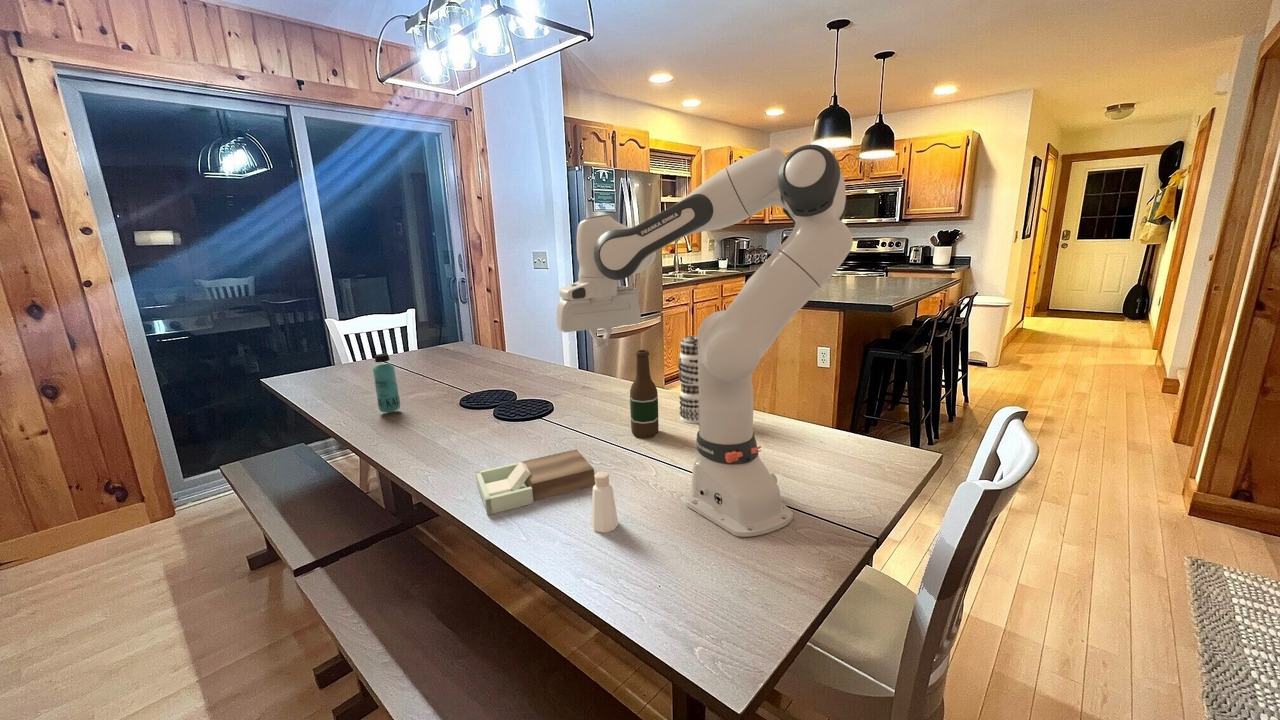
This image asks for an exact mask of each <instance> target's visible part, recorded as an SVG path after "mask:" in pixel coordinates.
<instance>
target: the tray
mask: <svg viewBox="0 0 1280 720" xmlns="http://www.w3.org/2000/svg"><path fill="white" fill-rule="evenodd" d="M518 464H519V462H514V463H509V464H505V465H500V466H497V467H495V466H494V467H492V468H487V469H482V470H478V471H475V479H476V485H477V490H478V492H479V494H480V498H481V500H482V504H483V506H484V510H485V513H486V512H487V513H486V515H487V516H489V515H493V514H498V513H501V512H505V511H508V510H513V509H517V508H521V507H525V506H528V505H532V504H534V499H533V494H532V488H531V487H526V485H525V483H523V485H522V486H521V487H520V488H519V489H518V490H512V489H511V491H510V492H506V493H502V494H498V495H494V496H489V493H488V491H487V488H486V485H485V484H486V483H491V482H495V481H500V480H504V479H507V478H508V477H509V475H510V474H511V473H512V471H513V470H514V469H515V467H516V466H517V465H518Z"/></svg>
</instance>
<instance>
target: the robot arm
mask: <svg viewBox="0 0 1280 720" xmlns="http://www.w3.org/2000/svg"><path fill="white" fill-rule="evenodd" d="M846 193H847V192H846V182H845V179H844V176H843V173H842V171H841V167H840V163H839V161H838V159H837V157H836V156H835V155H834V154H833V153H832V152H831V151H830V150H829V149H827V148H826V147H824V146H822V145H818V144H805V145H802V146H799V147H797V148H795V149H793V150H791V152H790V153H789V154H787V155H786V154H785V153H784V151H782V150H780V149H778V148H776V147H768V148H764V149H762V150H759V151H757V152H754V153H752V154H749V155H747V156H745V157H743V158H741V159H739V160H737V161H735V162H733V163H731V164H729V165H728V166H725V167H724V168H722V169H721V170H719V171H718V172H716V173H714V174H713V175H712V176H711V177H709V178H707V180H705V181H703V182H702V183H701V184H700V185H699V186H697V187H696V188H695V189H694V190H692V191H691V192H690V193H688V194H687V195H685V196H684V197H683V198H682V199H680V200H679V201H678V202H676V203H675V204H672V205H671V206H669V207H667V208H666V209H664V210H662V211H660V212H658V213H657V214H655V215H654V216H652V217H649V219H646V220H645V221H642V222H641V223H639V224H637V225H635V226H633V227H629V226H627V225H624V224H622V223H620V222H618V221H617V220H615V219H614V218H613V217H611V216H610V215H608V214H601V215H594V216H590V217H587V218H584V219H582V220H580V222H579V223H578V225H577V228H576V255H577V256H576V258H577V261H578V263H579V270H578V281H574V283H571V284H569V285H566V286H563V287H562V288H559V291H558V292H559V297H561V299H560V300H559V301H558V303H557V308H556V309H557V310H556V326H557V328H558V329H559V331H561V332H562V333H571V332H572V333H573V332H579V331H587V330H588V333H589V334H590V337H592V339H593V342H594V344H593V345H594V347H596V348H601V347H608V346H609V338H610V336H611V334H612V333H613V328H614V327H620V326H629V325H637V324H639V323H640V321H641V319H642V316H641V315H642V314H641V307H640V304H639V303H640V302H639V300H640V292H639V290H638V288H637V287H635V286H634V285H626V286H625V285H619V286H618V281H622V280H624V279H627V278H629V277H631V276H632V275H636V274H639V273H640V274H641V273H643V272H645V271H647V270H648V269H649V268H651V267H652V265H653V264H654V263H655V261H656V259H657V254H658V251H660V250H661V249H663V248H665V247H667V246H669V245H670V244H672V243H674V242H676V241H678V240H680V239H682V238H683V237H686V236H690V235H693V234H696V233H697V234H698V233H703V232H710V231H717V230H722V229H724V228H727V227H731V226H734V225H735V224H736V225H737V224H738V223H740V222H743V221H745V220H746V219H748V218H750V217H753V216H754V215H756V214H758V213H759V212H761V211H763V210H765V209H767V208H770V207H781V208H782V211H783V213H784V215H786V216H787V217H788V218H789V219H790V221H791V222H793V223H794V227H793V229H792V231H791V233H790V235H788V236H787V238H786V239H785V240H784V241H783V242H782V243H781V244H780V245H779V246H778V247H777V249H776V250H775V251H774V252H773V253H772V254H771V255H770V256H769V257H767V259H766V260H765V261H764V262H763V263H762V265H760V266H759V268H758V269H757V270H755V272H754V273H753V274H752V275H751V276H750V277H749V278H747V281H746V282H745V284H744V285H743V286H742V288H741V289H740V291H739V292H738V294H737V295H736V296H735V298H734V299H732V301H731V303H730V304H729V306H727V308H726V309H725V310H717V311H714V312H712V313H711V314H709V315H707V316H706V317H705V318H704V319H703V320H702V322H701V323H700V325H699V327H698V331H697V336H698V385H699V423H698V431H697V433H696V438H695V439H696V441H695V443H696V451H697V456H696V459H695V461H694V463H693V466H692V472H691V473H692V474H691V484H690V495H689V496H688V497H687V499H686V501H685V505H686V507H687V508H690V509H691V510H693V511H695V512H696V513H698V514H699V515H701V516H702V517H704V518H706V519H707V520H710V522H712V523H713V524H715V525H717V526H719V527H720V528H722V529H724V530H726V531H727V532H729V533H730V534H732V535H734V536H735V537H742V538H743V537H748V538H749V537H756V536H762V535H765V534H768V533H772V532H775V531H777V530H779V529H780V530H781V528H784V527H785V526H787V525H788V524H790V523H791V522H792V520H793V519H794V512H793V511H792V510H791V509H790V508H789V507H788V506H786V504H785V503H784V502H782V500H781V499H782V498H781V490H780V487H779V485H778V484H777V483H778V479H777V476H776V474H774V473H770V472H769V470H768V468H767V467H766V465H765V464H764V463H763V461H762V459H761V458H760V456H759V452H760V453H761V452H762V450H761V448H762V446H761V445H760V446H758V444H757V442H758V441H757V439H756V436H755V434H754V406H755V405H754V401H755V399H754V389H753V388H754V387H753V373H754V371H755V370H756V369H757V366H758V364H759V362H760V360H761V359H762V357H763V356H764V355H765V354H766V352H767V351H768V350H769V349H770V348H771V346H772V345H773V343H774V342H775V340H776V339H778V338H777V337H778V336H779V335H780V334H781V332H782V331H783V330H784V328H785V327H786V325H787V324H789V321H790V320H791V319H792V318H793V317H794V316H795V315H796V314H797V313H798V312H799V311H800V309H802V308H803V307H804V306H805V305H806V304H807V303H808V302H809V301H810V300H811V299H812V298H813V297H814V296H815V295H816V293H818V292H819V290H821V288H822V287H824V285H825V284H826V283H827V282H828V281H829V280H830V278H831V277H833V275H834V274H835V273H836V271H837V270H838V269H839V268H840V266H841V265H842V264H843V263H844V261H845V260H846V258H847V257H848V255H849V254H850V253H851V250H852V247H853V245H854V244H853V243H854V242H853V240H854V239H853V236H852V232H851V230H850V229H849V227H848V226H847V225H846V224H845V223H844V222H843V219H844V217H845V216H846V215H845V214H846V212H847V208H848V199H847V198H848V197H847V194H846ZM598 329H603V331H605V332H604V334H603V336H602V337H598V336H597V334H598V331H599V330H598Z"/></svg>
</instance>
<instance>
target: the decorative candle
mask: <svg viewBox="0 0 1280 720" xmlns="http://www.w3.org/2000/svg"><path fill="white" fill-rule="evenodd" d="M679 344H680V352H679V358H678V360H677V363H678V365H677V368H678V375H679V377H678V381H679V383H680V387H681V388H680V392H679V393H680V395H679V397H678V398H679V400H680V401H679V407H678V409H679V410H680V411H679V415H680V417H679V419H680V421H681V422H683V423H687V424H699V385H698V335H688V336H687V335H686V336H684V337H683V338H682V340H680V342H679Z"/></svg>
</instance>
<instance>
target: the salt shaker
mask: <svg viewBox="0 0 1280 720" xmlns="http://www.w3.org/2000/svg"><path fill="white" fill-rule="evenodd" d="M594 478H595V485H593V486H592V495H591V496H592V498H591V512H590V513H591V514H590V515H591V516H590V525H591V528H592V530H593V532H597V533H602V534H604V533H608V532H612V531H615V529H616V528H617V527H618V526H619V519H618V514H617V507H616V500H615V496H614V489H613V486H612V484H611V483H610V474H609V472H607V471H598V472H596V473H594Z"/></svg>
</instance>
